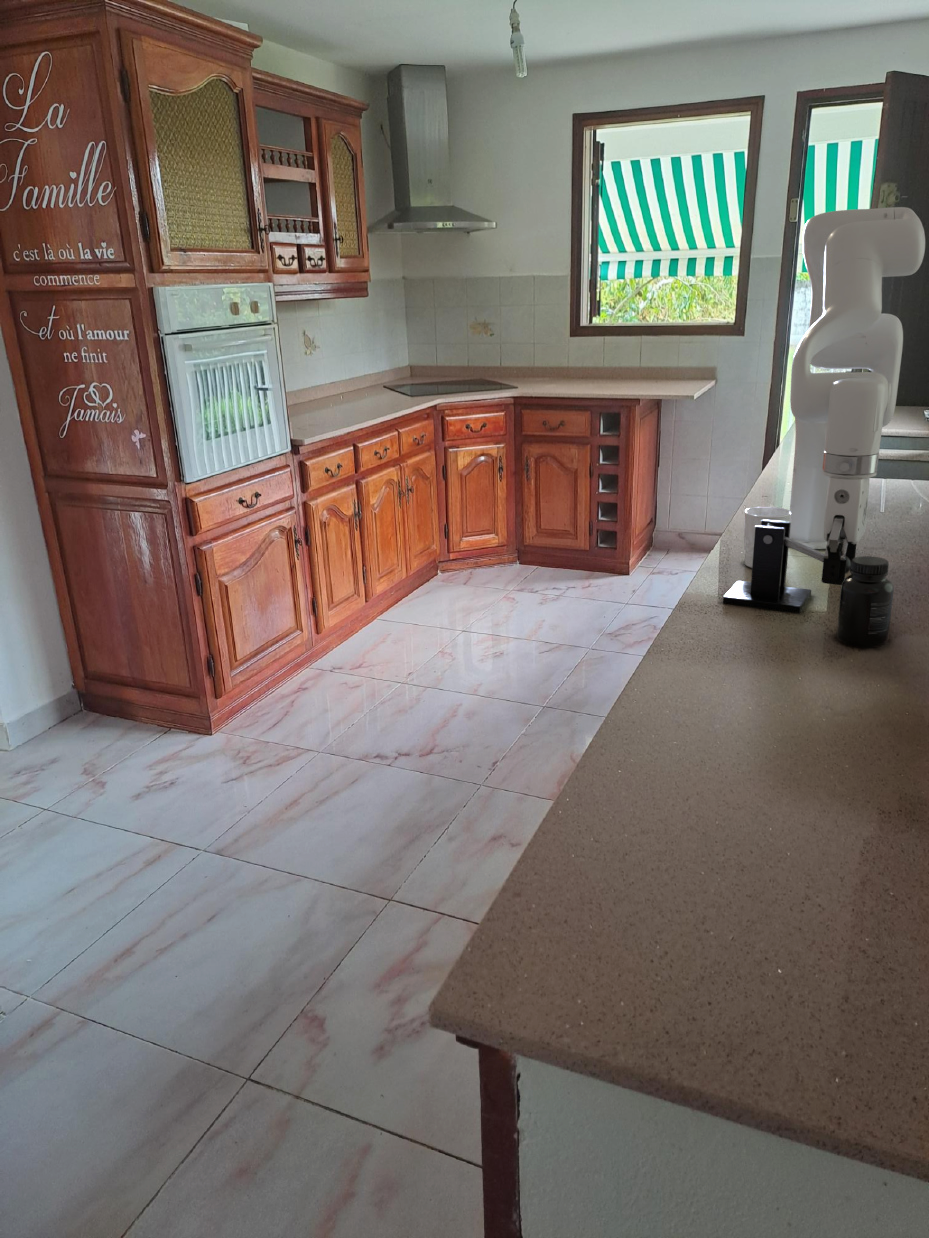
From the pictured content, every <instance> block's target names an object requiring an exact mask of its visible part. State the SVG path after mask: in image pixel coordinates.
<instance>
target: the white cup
mask: <svg viewBox="0 0 929 1238" xmlns="http://www.w3.org/2000/svg"><path fill="white" fill-rule="evenodd" d="M790 516H791V512H790V509H787V508H784V507H778V506H753V507H749V508H746V509H745V510H744V529H743V531H744V532H743V534H744V535H743V542H744V543H743V544H744V547H743V549H744V565H745V566H747V567H748V568H751V569H752V565H753V551H754V538H755V527H756V526H757V525H760V526H761V521H762V520H763V519H765V520H777V521H788V522H790Z"/></svg>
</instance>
